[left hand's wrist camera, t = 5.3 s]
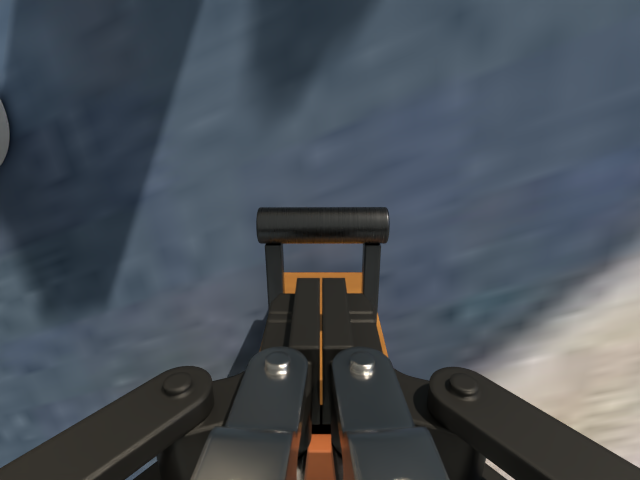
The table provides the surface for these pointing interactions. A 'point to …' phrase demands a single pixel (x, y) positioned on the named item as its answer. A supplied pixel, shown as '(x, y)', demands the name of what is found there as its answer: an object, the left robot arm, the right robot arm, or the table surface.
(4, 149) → the coffee cup
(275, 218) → the drawer
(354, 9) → the table surface
